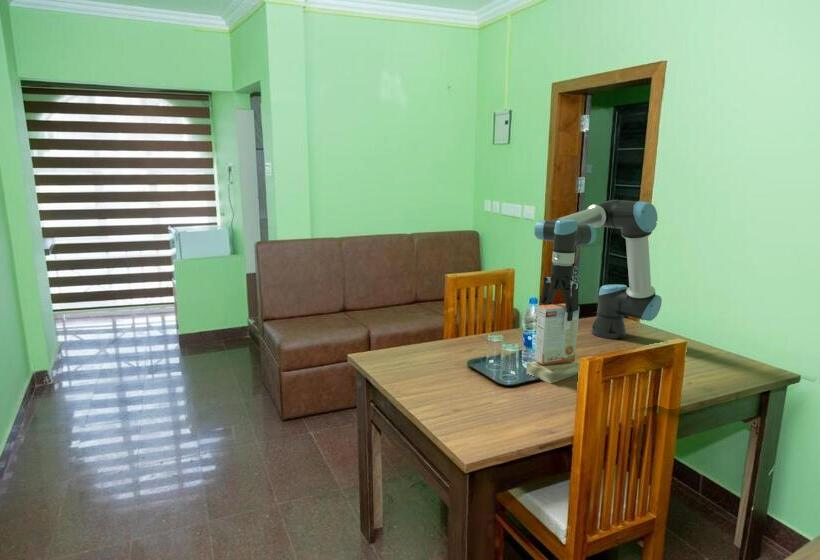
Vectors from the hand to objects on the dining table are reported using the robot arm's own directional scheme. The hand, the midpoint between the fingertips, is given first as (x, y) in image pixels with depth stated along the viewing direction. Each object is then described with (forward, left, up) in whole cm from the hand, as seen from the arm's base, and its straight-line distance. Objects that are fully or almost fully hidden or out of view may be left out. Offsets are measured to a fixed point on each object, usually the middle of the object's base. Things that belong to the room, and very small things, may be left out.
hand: (557, 326), depth 196 cm
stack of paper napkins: (0, 0, -18) cm, 18 cm away
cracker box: (0, 0, -13) cm, 13 cm away
